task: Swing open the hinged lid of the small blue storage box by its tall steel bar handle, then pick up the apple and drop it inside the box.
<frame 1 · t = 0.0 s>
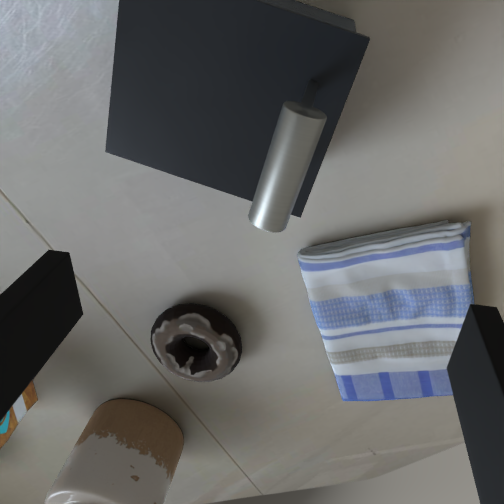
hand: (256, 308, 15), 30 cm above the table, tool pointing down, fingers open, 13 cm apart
vase: (139, 429, 72), on the table
donut: (200, 332, 58), on the table
lid: (206, 118, 28), point 14 cm above the table, hinge at 0.0°
blue storage box: (242, 74, 40), on the table
dish towel: (393, 315, 51), on the table
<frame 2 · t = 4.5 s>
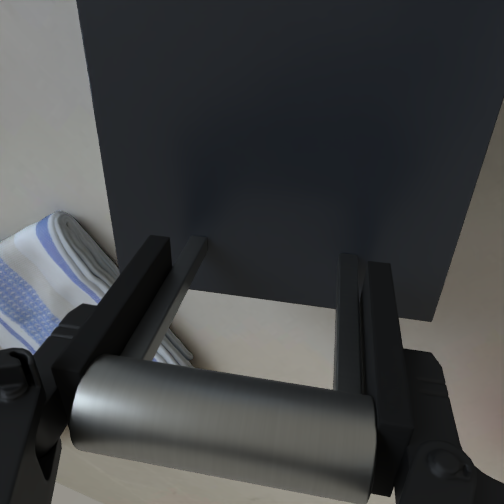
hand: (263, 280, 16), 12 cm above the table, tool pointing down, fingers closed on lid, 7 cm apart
lid: (259, 148, 11), point 14 cm above the table, hinge at 0.0°, touching gripper
dish towel: (47, 335, 38), on the table
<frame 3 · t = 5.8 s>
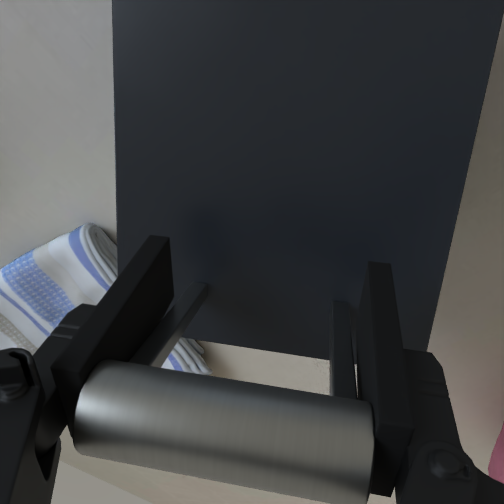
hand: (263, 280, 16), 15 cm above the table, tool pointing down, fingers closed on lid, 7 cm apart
lid: (265, 179, 13), point 16 cm above the table, hinge at 14.5°, touching gripper
dish towel: (71, 331, 42), on the table
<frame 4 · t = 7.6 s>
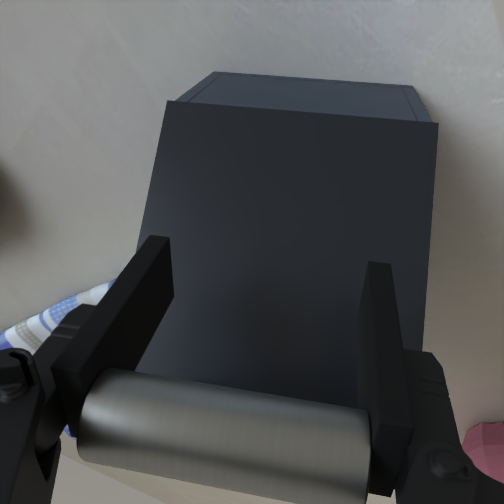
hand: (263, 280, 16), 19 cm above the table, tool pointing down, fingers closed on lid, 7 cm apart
lid: (268, 252, 16), point 18 cm above the table, hinge at 44.5°, touching gripper
apple: (490, 429, 45), on the table
blue storage box: (299, 184, 35), on the table
dish towel: (103, 358, 50), on the table
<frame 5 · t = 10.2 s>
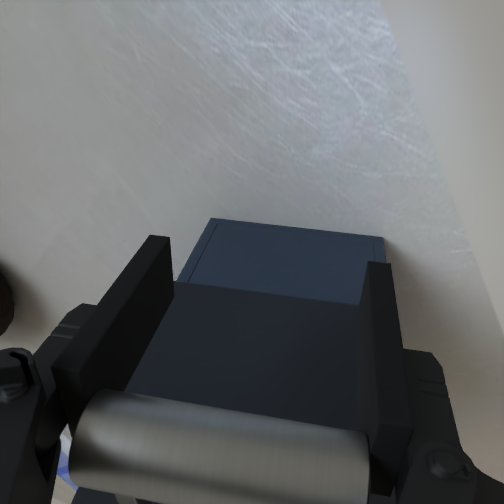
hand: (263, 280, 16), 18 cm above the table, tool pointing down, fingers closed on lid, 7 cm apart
lid: (258, 364, 18), point 18 cm above the table, hinge at 82.3°, touching gripper
blue storage box: (287, 304, 39), on the table
dish towel: (112, 430, 55), on the table
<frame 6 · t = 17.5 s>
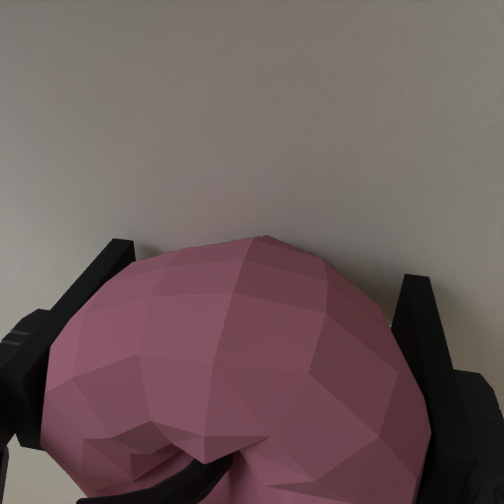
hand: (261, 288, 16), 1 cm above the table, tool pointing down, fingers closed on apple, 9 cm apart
apple: (264, 276, 17), on the table, touching gripper
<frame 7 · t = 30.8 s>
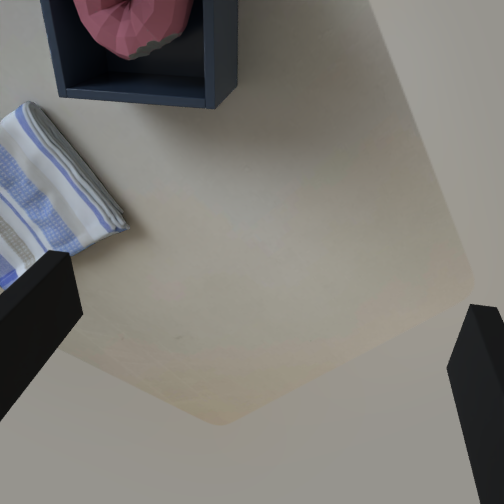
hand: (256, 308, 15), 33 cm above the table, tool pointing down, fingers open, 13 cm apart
dish towel: (26, 203, 55), on the table
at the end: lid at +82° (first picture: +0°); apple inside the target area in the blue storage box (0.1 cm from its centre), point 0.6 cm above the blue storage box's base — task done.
